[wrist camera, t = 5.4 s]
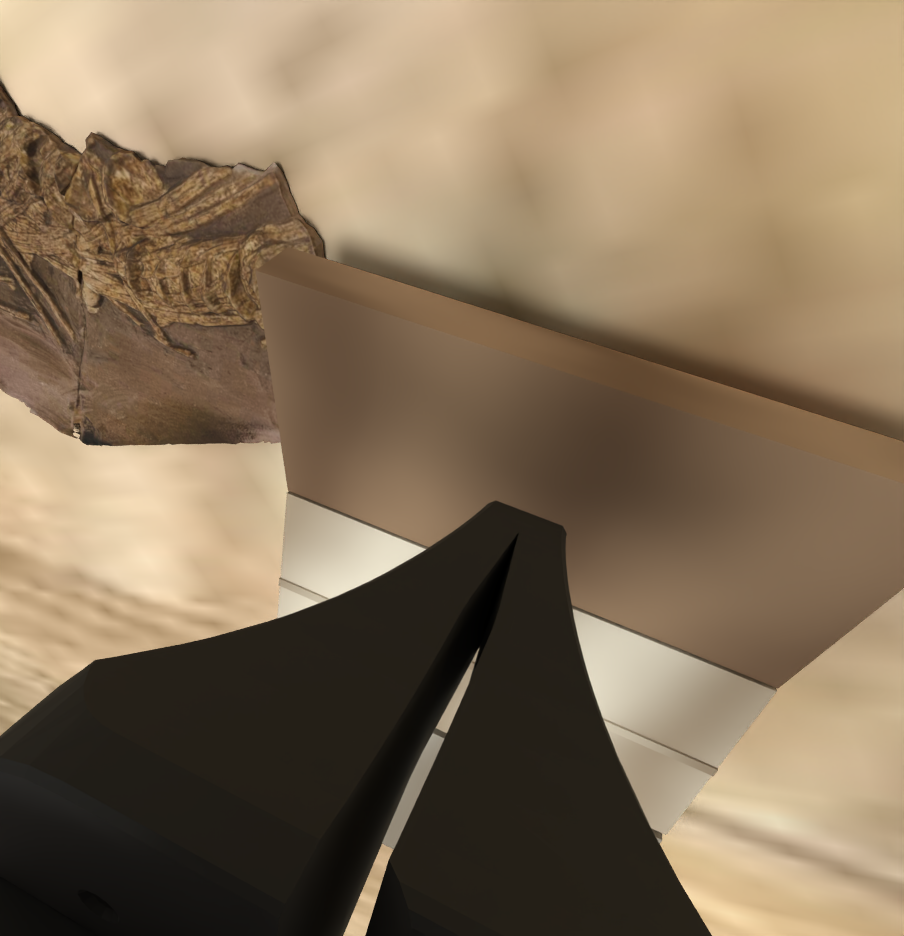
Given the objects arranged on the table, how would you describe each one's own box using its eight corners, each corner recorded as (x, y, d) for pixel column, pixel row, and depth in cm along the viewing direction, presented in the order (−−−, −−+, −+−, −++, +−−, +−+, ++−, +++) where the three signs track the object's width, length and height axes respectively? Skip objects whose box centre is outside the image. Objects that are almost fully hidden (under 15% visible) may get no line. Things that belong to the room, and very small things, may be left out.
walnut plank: (309, 464, 18) (287, 490, 17) (288, 246, 13) (255, 270, 12) (778, 647, 16) (777, 688, 15) (980, 466, 10) (996, 514, 10)
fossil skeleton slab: (430, 221, 14) (413, 226, 13) (347, 558, 20) (331, 577, 19) (-335, -72, 18) (-388, -83, 17) (-216, 282, 24) (-251, 287, 23)
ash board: (770, 657, 16) (776, 693, 15) (667, 800, 19) (665, 837, 18) (308, 474, 18) (285, 494, 17) (293, 630, 22) (273, 654, 21)
